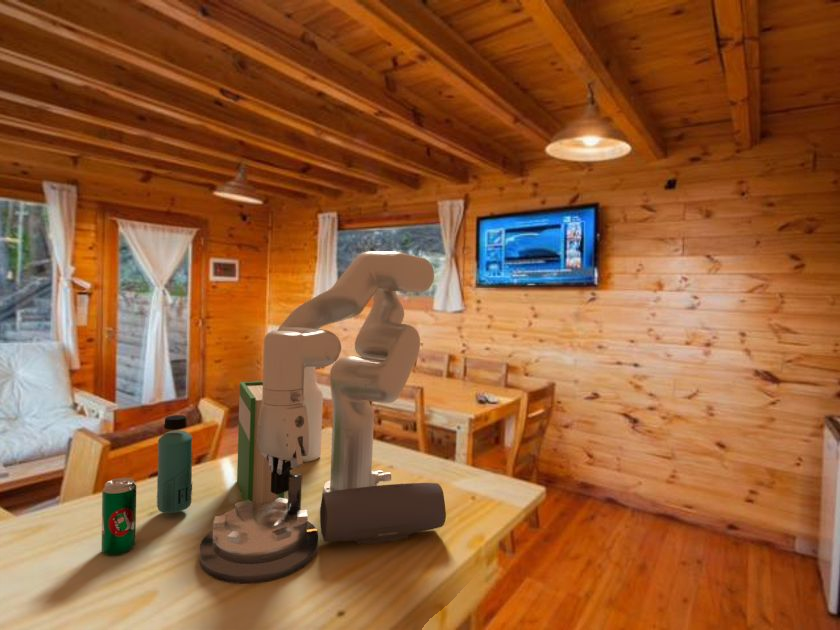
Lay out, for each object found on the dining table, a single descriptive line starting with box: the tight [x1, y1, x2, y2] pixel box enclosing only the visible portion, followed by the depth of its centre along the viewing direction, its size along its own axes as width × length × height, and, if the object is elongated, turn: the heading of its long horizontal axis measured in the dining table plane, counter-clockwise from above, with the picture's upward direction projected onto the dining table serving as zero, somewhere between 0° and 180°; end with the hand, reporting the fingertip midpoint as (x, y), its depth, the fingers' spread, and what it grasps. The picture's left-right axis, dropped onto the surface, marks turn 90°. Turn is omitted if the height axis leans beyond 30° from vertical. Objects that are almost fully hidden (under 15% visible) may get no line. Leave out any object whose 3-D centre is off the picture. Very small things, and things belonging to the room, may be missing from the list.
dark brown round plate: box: [198, 520, 319, 585], centre depth 87 cm, size 20×20×2 cm
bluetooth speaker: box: [319, 482, 447, 545], centre depth 93 cm, size 23×9×10 cm, turn 109°
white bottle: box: [302, 367, 324, 463], centre depth 135 cm, size 9×9×30 cm
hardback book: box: [236, 380, 285, 504], centre depth 110 cm, size 18×7×24 cm, turn 27°
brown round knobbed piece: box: [212, 472, 309, 563], centre depth 87 cm, size 16×16×10 cm
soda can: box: [100, 477, 137, 557], centre depth 85 cm, size 5×5×12 cm
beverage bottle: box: [156, 414, 193, 514], centre depth 99 cm, size 6×7×20 cm
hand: (280, 491), depth 93 cm, fingers closed
